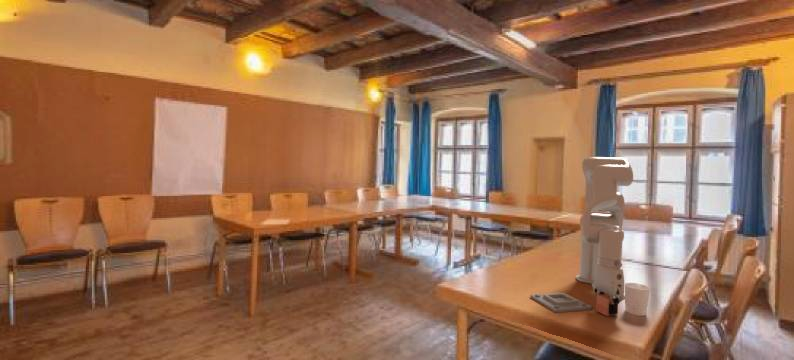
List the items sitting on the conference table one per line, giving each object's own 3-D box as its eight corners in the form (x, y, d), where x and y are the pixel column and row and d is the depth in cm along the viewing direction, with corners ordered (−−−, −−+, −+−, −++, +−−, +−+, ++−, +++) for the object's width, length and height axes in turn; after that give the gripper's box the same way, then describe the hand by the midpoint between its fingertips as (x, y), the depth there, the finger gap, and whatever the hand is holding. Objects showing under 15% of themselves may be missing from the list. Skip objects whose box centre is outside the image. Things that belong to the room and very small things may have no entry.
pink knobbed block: (607, 309, 148) (608, 291, 148) (617, 314, 143) (618, 296, 143) (595, 310, 147) (596, 292, 146) (606, 315, 142) (607, 297, 141)
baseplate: (564, 294, 164) (564, 289, 164) (592, 309, 149) (592, 303, 149) (530, 297, 160) (530, 292, 160) (555, 312, 145) (555, 306, 145)
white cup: (618, 308, 150) (620, 282, 150) (638, 308, 151) (639, 282, 150) (632, 316, 142) (634, 289, 142) (653, 316, 143) (654, 289, 143)
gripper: (637, 268, 136) (634, 319, 138) (600, 255, 153) (597, 301, 154) (619, 269, 135) (616, 321, 136) (584, 256, 151) (581, 303, 152)
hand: (606, 310), depth 145 cm, fingers closed on pink knobbed block, 5 cm apart
